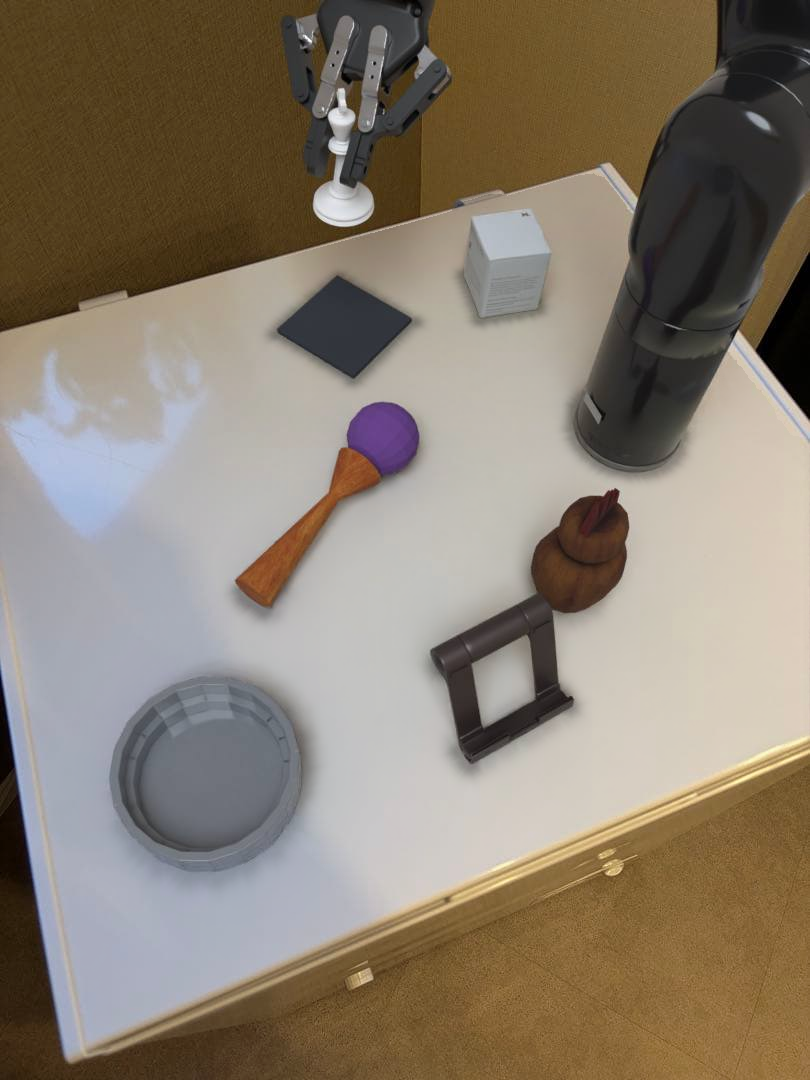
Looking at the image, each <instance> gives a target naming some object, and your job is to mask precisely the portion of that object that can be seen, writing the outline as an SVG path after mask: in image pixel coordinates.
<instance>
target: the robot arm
mask: <svg viewBox="0 0 810 1080" xmlns="http://www.w3.org/2000/svg"><path fill="white" fill-rule="evenodd" d="M715 2H716V3H715V4H716V50H715V51H716V52H715V66H714V70H713V74H712V75H710V77H708V78H707V79H706V80H705V81H704V82H703V83H702V84H700V86H698V87H697V88H696V89H694V91H692V92H691V93H690V94H689V95H688V96H687V97H685V99H684V100H683V101H681V102H680V103H679V104H678V105H677V106H676V108H674V109H673V111H672V112H671V113H670V114H669V116H668V118H667V119H666V121H665V123H664V124H663V125H662V128H661V130H660V132H659V134H658V137H657V139H656V141H655V144H654V146H653V149H652V151H651V153H650V154H651V155H650V157H649V160H648V163H647V166H646V170H645V173H644V177H643V180H642V184H641V187H640V191H639V194H638V198H637V200H636V205H635V209H634V212H633V215H632V219H631V222H630V227H629V231H628V235H627V236H628V237H627V250H628V251H627V252H628V254H629V256H628V257H629V258H628V261H627V265H626V268H625V271H624V274H623V277H622V280H621V282H620V286H619V289H618V291H617V295H616V298H615V301H614V304H613V307H612V310H611V313H610V316H609V317H608V321H607V324H606V327H605V330H604V333H603V336H602V337H601V338H602V339H601V342H600V345H599V346H598V350H597V354H596V356H595V359H594V362H593V365H592V368H591V370H590V373H589V377H588V379H587V382H586V384H585V388H584V391H583V393H582V395H581V399H580V400H579V403H578V405H577V408H576V409H575V413H574V418H573V426H574V432H575V435H576V438H577V440H578V442H579V443H580V445H581V446H582V448H583V449H584V450H585V451H586V452H587V453H588V454H589V455H590V456H591V457H592V458H594V459H595V460H596V461H598V462H599V463H601V464H603V465H605V466H607V467H610V468H612V469H615V470H619V471H622V472H623V471H624V472H632V473H635V472H636V473H638V472H640V473H641V472H648V471H651V470H654V469H657V468H659V467H661V466H663V465H665V464H666V463H668V462H669V461H670V460H671V459H672V458H673V456H674V455H675V453H676V452H677V450H678V448H679V447H680V444H681V440H682V438H683V436H684V434H685V432H686V430H687V429H688V426H689V425H690V423H691V421H692V419H693V417H694V415H695V414H696V412H697V410H698V408H699V407H700V404H701V402H702V400H703V398H704V396H705V394H706V393H707V391H708V389H709V387H710V386H711V383H712V382H713V379H714V377H715V376H716V374H717V372H718V370H719V368H720V366H721V364H722V362H723V361H724V358H725V356H726V355H727V352H728V351H729V349H730V346H731V345H732V343H733V341H734V339H735V337H736V335H737V333H738V331H739V329H740V327H741V325H742V324H743V322H744V320H745V318H746V316H747V314H748V312H749V311H750V309H751V308H752V305H753V304H754V301H755V300H756V297H757V296H758V294H759V292H760V290H761V288H762V285H763V282H764V279H765V263H766V261H767V258H768V256H769V255H770V252H771V251H772V248H773V246H774V244H775V242H776V241H777V238H778V237H779V235H780V233H781V231H782V229H783V227H784V225H785V223H786V221H787V220H788V218H789V217H790V214H791V213H792V212H793V210H794V208H795V207H796V206H797V205H798V203H799V202H800V201H802V199H803V198H805V196H806V195H807V193H808V192H809V191H810V0H716V1H715ZM435 5H436V0H322V1H321V2H320V3H319V5H318V7H317V8H316V9H317V10H316V13H313V14H310V15H306V16H302V17H299V18H296V17H294V15H292V14H286V15H284V16H283V17H282V18H281V20H280V31H281V35H282V41H283V48H284V52H285V58H286V63H287V71H288V75H289V81H290V87H291V92H292V97H293V99H294V100H295V102H297V103H299V104H300V105H301V106H302V107H304V109H306V111H308V112H309V114H310V116H311V117H310V118H311V120H310V121H311V122H310V126H309V129H308V133H307V136H306V141H305V144H304V148H303V152H302V163H304V164H305V165H306V167H305V169H306V173H307V174H310V175H311V176H313V177H316V178H320V179H323V178H324V176H325V174H326V170H327V167H328V163H329V159H330V155H331V153H332V151H330V149H329V147H328V143H329V140H330V139H331V138H332V137H333V136H335V135H334V133H333V130H332V127H331V125H330V123H329V120H328V114H329V112H330V111H331V110H333V109H334V108H338V100H337V91H338V89H341V88H344V90H345V100H346V99H347V98H348V97H349V96H350V95H351V92H352V89H353V86H354V84H355V82H362V84H361V92H360V93H361V103H360V107H359V113H358V119H357V128H356V131H355V130H352V131H351V134H350V136H351V138H350V141H349V145H348V149H347V152H346V156H345V159H344V163H343V166H342V170H341V174H340V178H339V182H340V183H341V184H342V185H344V186H347V187H350V188H353V189H354V188H355V187H356V185H357V182H359V183H361V184H363V182H364V181H365V180H366V178H367V176H368V173H369V169H370V166H371V162H372V159H373V155H374V151H375V148H376V146H377V145H376V144H378V143H377V142H378V141H379V140H381V139H382V138H386V137H394V138H398V139H400V138H402V137H404V136H405V135H406V134H407V132H409V130H410V129H411V128H412V127H413V126H414V125H415V124H416V123H417V121H418V120H419V119H420V118H421V117H422V116H423V115H424V114H425V113H426V111H427V110H428V109H429V108H430V107H431V106H432V105H433V104H434V103H435V101H436V100H437V99H438V98H439V97H440V96H441V95H442V94H443V92H444V91H445V90H446V89H447V88H448V87H449V86H450V85H451V84H452V82H453V73H452V72H451V69H450V68H449V66H448V65H447V64H446V63H445V61H443V60H442V59H441V58H440V59H439V58H438V57H437V56H436V55H435V53H433V52H432V50H431V49H430V48H429V47H430V35H429V23H430V21H431V18H432V15H433V12H434V9H435V8H434V7H435ZM319 34H320V36H321V39H322V44H323V47H324V49H325V53H326V60H325V61H324V62H325V63H324V65H323V68H322V70H321V74H320V85H319V88H318V85H317V80H316V74H315V68H314V61H313V57H312V52H313V51H314V50H315V49H316V47H317V45H318V44H317V43H318V42H317V41H318V39H317V38H318V37H319ZM417 63H418V64H417ZM416 64H417V67H416V68H415V70H414V73H413V74H414V82H413V83H412V84H410V86H409V87H408V88H407V89H406V90H405V92H404V93H403V94H402V95H401V96H400V97H399V98H398V100H397V101H396V102H395V103H394V104H393V105H392V106H391V107H390V104H391V101H392V95H393V89H394V86H395V85H394V84H395V82H397V81H398V80H399V79H400V78H401V77H402V76H403V75H404V74H406V72H408V71H409V70H410V69H411V68H412V67H414V66H415V65H416ZM389 107H390V109H389ZM388 109H389V110H388ZM387 110H388V111H387Z"/></svg>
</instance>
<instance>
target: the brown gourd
mask: <svg viewBox="0 0 810 1080" xmlns="http://www.w3.org/2000/svg"><path fill="white" fill-rule="evenodd" d="M620 493H621V491H620V490H619V489H618V488H616V487H614V488H613V489H611V490H610V489H607V491H606V492H605V494H604V495H587V496H583V497H582V496H581V497H580V498H578V499H577V500H576V501H574V502H573V503H571V504H570V505H569V506H568V507H567V509H565V511H564V512H563V514H562V515H561V517H560V521H559V525H558V526H557V527H554V529H552V530H551V531H550V532H548V533H547V534H546V535H544V537H542V538H541V539H540V540H539V542H538V543H537V545H536V546H535V548H534V551H533V554H532V558H531V563H530V575H531V579H532V581H533V584H534V588H535V591H536V594H541V595H542V596H543V597H544V598H545V599H546V600H547V601H548V603H549V605H550V606H551V609H552V611H556V612H560V613H563V614H573V613H578V612H581V611H585V610H587V609H589V608H590V607H592V606H593V605H596V604H597V603H599V602H601V600H603V599H604V598H605V597H606V596H608V594H609V593H610V592H611V591H612V590H613V589H614V588H615V587H617V586H618V585H619V583H620V581H621V579H622V578H623V574H624V572H625V568H626V564H627V560H628V549H627V546H626V542H627V539H628V536H629V531H630V521H629V513H628V512H627V510H625V508H624V507H623V506H622V504H621V503H620V502H619V497H620Z"/></svg>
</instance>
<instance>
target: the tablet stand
mask: <svg viewBox="0 0 810 1080" xmlns="http://www.w3.org/2000/svg"><path fill="white" fill-rule="evenodd" d="M525 636H527V639H528V640H529V647H530V655H531V656H530V657H531V666H532V667H531V668H532V675H533V686H534V695H535V699H534V700H532V701H531V702H529V703H526V704H525V705H523V706H522V707H520V708H518V709H516V710H515V711H513V712H511V713H509V714H507V715H505V716H504V717H501V718H500V719H499V720H497V721H495V722H493V723H492V724H490V725H488V726H486V727H485V728H484V725H483V724H482V723H483V722H482V719H481V718H482V717H481V711H480V707H479V700H478V699H479V698H478V693H477V687H476V681H475V676H474V669H473V664H475V663H476V662H479V661H481V660H482V659H484V658H486V657H487V656H489V655H491V654H493V653H495V652H497V651H498V650H501V649H502V648H504V647H506V646H508V645H510V644H511V643H514V642H516V641H517V640H519V639H521V638H523V637H525ZM556 644H557V643H556V633H555V621H554V612H553V609H552V608H551V606H550V605H549V603H548V601H547V600H546V599H545V598H544V597H543V596H542V595H541V594H538V593H536V594H533V595H532V596H531V595H530V596H529V597H528V598H526V599H524V600H522V601H520V602H518V603H516V604H514V605H512V606H510V607H508V608H506V609H505V610H502V611H501V612H499V613H497V614H495V615H493V616H491V617H489V618H487V619H485V620H483V621H482V622H480V623H478V624H476V625H474V626H472V627H471V628H468V629H467V630H465V631H463V632H461V633H459V634H457V635H455V636H453V637H451V638H449V639H448V640H447V639H446V640H445V641H444V642H441V643H439V644H438V645H436V646H434V647H432V648H430V650H429V654H430V657H431V661H432V663H433V665H434V667H435V668H436V670H437V672H438V673H439V674H440V676H441V677H442V678H443V680H444V681H445V683H446V687H447V691H448V697H449V699H450V701H449V702H450V704H451V710H452V711H451V712H452V716H453V720H454V725H455V731H456V737H457V741H458V746H459V749H460V751H461V752H462V754H463V756H464V758H465V759H466V761H467V762H468V763H469V764H471V765H474V764H475V763H477V762H479V761H480V760H482V759H485V758H486V757H488V756H490V755H491V754H493V753H494V752H497V751H498V750H500V749H501V748H503V747H505V746H507V745H509V744H510V743H512V742H514V741H515V740H517V739H519V738H521V737H523V736H524V735H526V734H527V733H529V732H531V731H533V730H534V729H536V728H538V727H540V726H541V725H543V724H545V723H546V722H548V721H551V720H552V719H554V718H556V717H557V716H559V715H561V714H563V713H564V712H566V711H567V710H569V709H571V708H573V705H574V701H575V698H574V697H573V696H572V695H569V696H567V695H566V693H564V691H563V690H561V685H560V681H559V673H558V672H559V671H558V659H557V645H556Z"/></svg>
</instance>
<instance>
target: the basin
mask: <svg viewBox="0 0 810 1080" xmlns="http://www.w3.org/2000/svg"><path fill="white" fill-rule="evenodd" d="M112 751H113V752H112V758H111V764H110V769H109V775H108V777H109V778H108V780H109V786H110V792H111V793H110V794H111V800H112V805H113V808H114V810H115V812H116V814H117V815H118V818H119V820H120V821H121V823H122V824H123V826H124V828H125V830H126V832H127V833H128V834H129V835H130V836H131V837H132V838H133V839H134V840H135V841H136V842H137V843H138V844H139V845H140V846H142V847H143V848H144V849H145V850H146V851H148V852H149V854H151V855H152V856H154V857H155V858H156V859H157V860H158V861H160V862H161V863H164V864H166V865H169V866H172V867H175V868H178V869H180V870H183V871H185V872H221V871H224V870H227V869H231V868H233V867H236V866H239V865H242V864H245V863H247V862H249V861H250V860H252V859H253V858H254V857H256V856H258V855H259V854H261V852H263V851H265V850H266V849H268V848H269V847H270V846H271V845H272V844H273V843H274V842H275V841H276V839H277V838H278V837H279V836H280V834H281V833H282V832H283V830H284V829H285V828H286V827H287V825H288V824H289V823H290V821H291V819H292V816H293V815H294V811H295V809H296V806H297V804H298V801H299V798H300V796H301V788H302V773H303V772H302V771H303V765H302V758H301V754H300V749H299V745H298V742H297V738H296V734H295V730H294V727H293V724H292V723H291V721H290V719H289V718H288V717H287V715H286V713H285V712H284V710H283V709H282V707H281V705H280V704H279V703H278V702H277V701H276V700H275V699H273V698H272V697H271V696H270V695H268V694H267V693H266V692H264V691H263V690H261V689H260V688H259V687H258V686H256V685H253V684H250V683H248V682H244V681H242V680H239V679H236V678H233V677H229V676H228V677H227V676H200V677H195V678H192V679H188V680H184V681H181V682H178V683H174V684H171V685H170V686H168V687H166V688H165V689H163V690H162V691H159V692H158V693H157V694H155V695H154V696H153V695H152V697H150V698H148V700H147V701H145V702H144V703H143V705H142V706H141V707H139V709H138V710H136V712H135V713H134V714H133V715H132V716H131V717H130V718H129V719H128V721H127V722H126V724H125V725H124V728H123V730H122V732H121V733H120V736H119V738H118V739H117V742H116V743H115V746H114V748H113V750H112Z"/></svg>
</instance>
